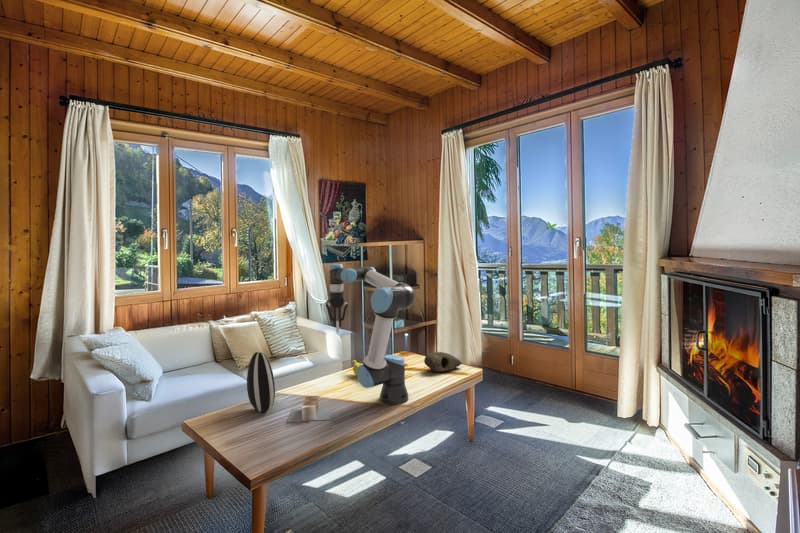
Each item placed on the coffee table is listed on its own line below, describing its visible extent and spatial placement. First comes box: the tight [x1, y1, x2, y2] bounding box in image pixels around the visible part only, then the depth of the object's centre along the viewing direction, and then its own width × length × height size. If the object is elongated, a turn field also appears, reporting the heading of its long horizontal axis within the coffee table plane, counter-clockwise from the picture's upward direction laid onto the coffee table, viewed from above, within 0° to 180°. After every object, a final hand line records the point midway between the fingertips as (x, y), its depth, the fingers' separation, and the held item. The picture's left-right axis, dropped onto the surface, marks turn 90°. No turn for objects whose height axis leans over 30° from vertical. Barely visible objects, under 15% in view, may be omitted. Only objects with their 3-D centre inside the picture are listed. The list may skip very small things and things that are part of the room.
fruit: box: [351, 359, 363, 377], centre depth 253 cm, size 7×30×9 cm, turn 41°
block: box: [301, 395, 319, 420], centre depth 202 cm, size 6×6×14 cm
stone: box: [423, 351, 463, 373], centre depth 268 cm, size 25×12×15 cm
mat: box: [286, 407, 333, 423], centre depth 201 cm, size 20×14×1 cm
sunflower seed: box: [246, 351, 276, 413], centre depth 206 cm, size 19×10×30 cm, turn 52°
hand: (337, 332), depth 235 cm, fingers closed
